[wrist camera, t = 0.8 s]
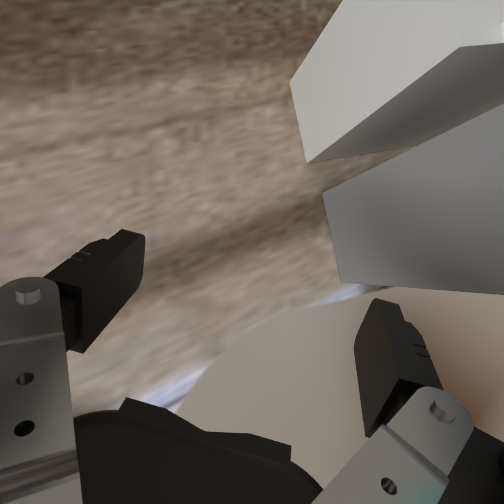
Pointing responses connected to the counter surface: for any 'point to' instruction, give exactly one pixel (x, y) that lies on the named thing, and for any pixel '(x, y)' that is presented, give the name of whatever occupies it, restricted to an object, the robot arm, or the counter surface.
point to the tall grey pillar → (427, 214)
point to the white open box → (398, 74)
